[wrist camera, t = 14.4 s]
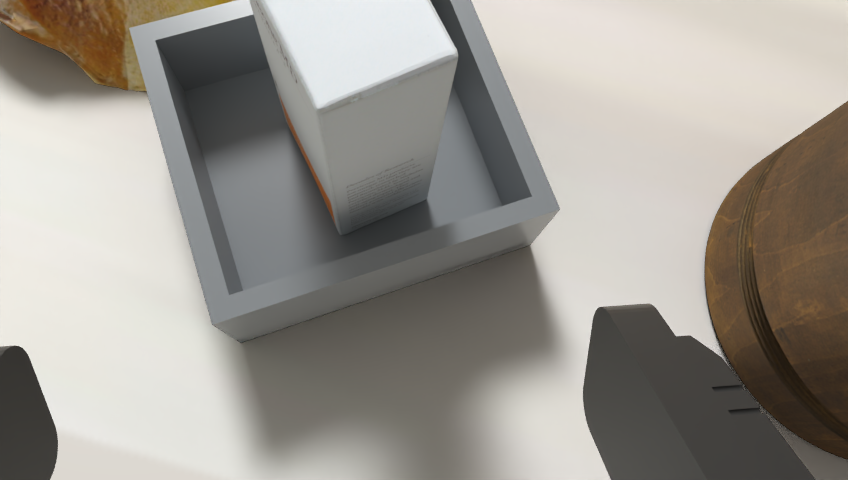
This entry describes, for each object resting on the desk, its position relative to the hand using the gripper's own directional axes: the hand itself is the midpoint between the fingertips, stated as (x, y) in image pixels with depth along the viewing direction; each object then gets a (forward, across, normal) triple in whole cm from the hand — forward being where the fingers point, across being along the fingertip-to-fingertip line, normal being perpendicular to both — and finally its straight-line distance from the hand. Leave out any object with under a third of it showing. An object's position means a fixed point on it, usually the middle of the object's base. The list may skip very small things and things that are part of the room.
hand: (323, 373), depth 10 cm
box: (+20, 0, +5) cm, 21 cm away
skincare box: (+20, -1, +5) cm, 20 cm away
